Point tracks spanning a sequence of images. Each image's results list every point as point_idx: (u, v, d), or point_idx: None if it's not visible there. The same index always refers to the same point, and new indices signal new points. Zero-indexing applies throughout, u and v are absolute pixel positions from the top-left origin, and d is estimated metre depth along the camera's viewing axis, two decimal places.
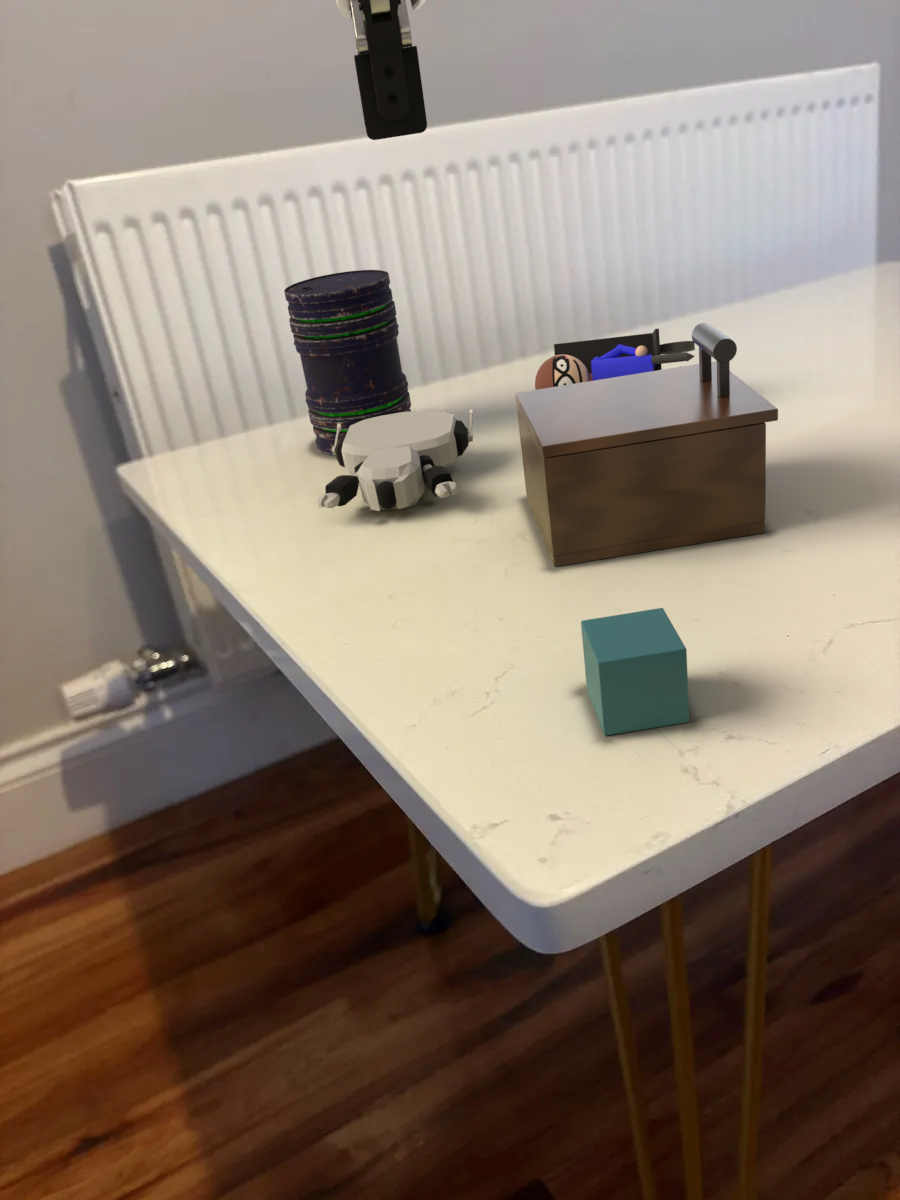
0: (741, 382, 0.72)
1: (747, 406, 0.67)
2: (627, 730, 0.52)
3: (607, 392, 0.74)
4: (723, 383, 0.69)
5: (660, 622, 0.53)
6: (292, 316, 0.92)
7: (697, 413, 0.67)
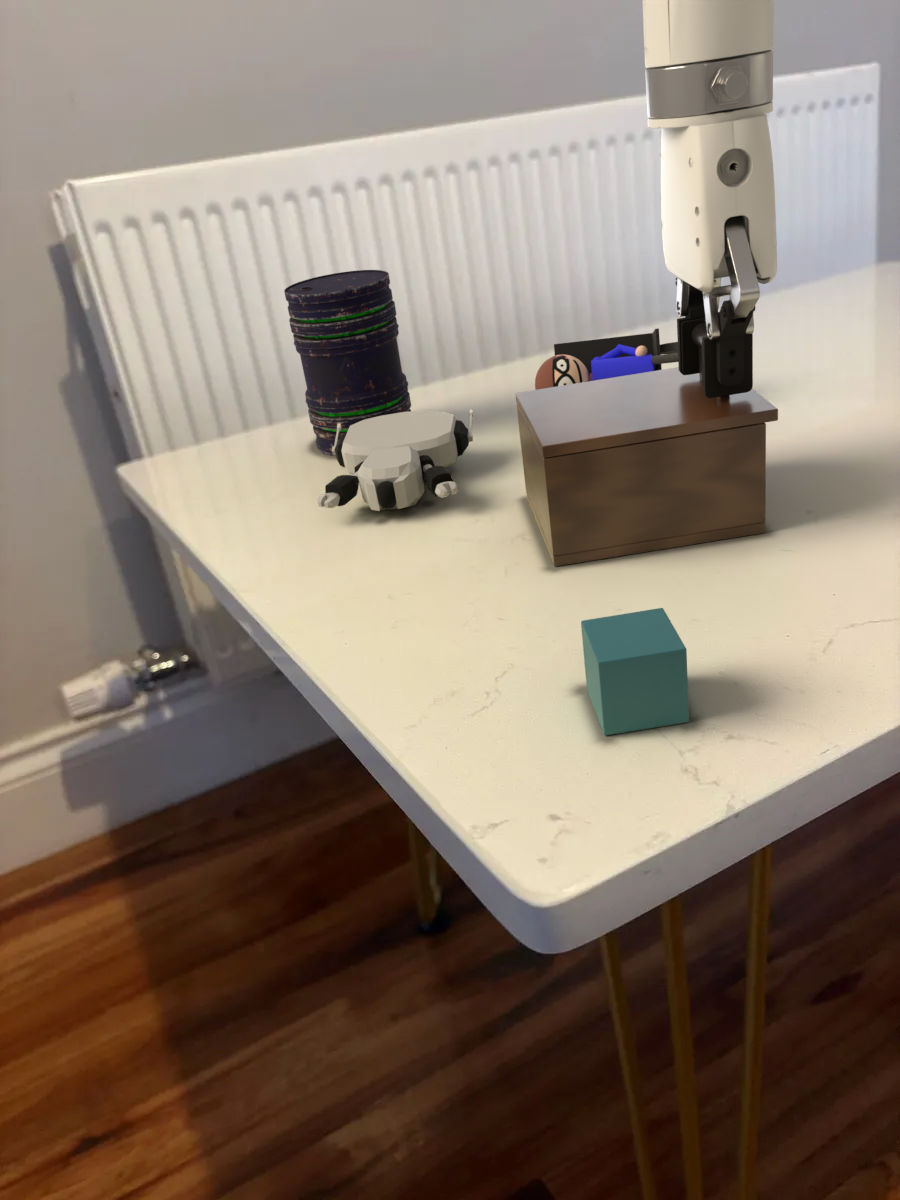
0: None
1: (747, 406, 0.67)
2: (627, 730, 0.52)
3: (607, 392, 0.74)
4: None
5: (660, 622, 0.53)
6: (292, 316, 0.92)
7: (697, 413, 0.67)
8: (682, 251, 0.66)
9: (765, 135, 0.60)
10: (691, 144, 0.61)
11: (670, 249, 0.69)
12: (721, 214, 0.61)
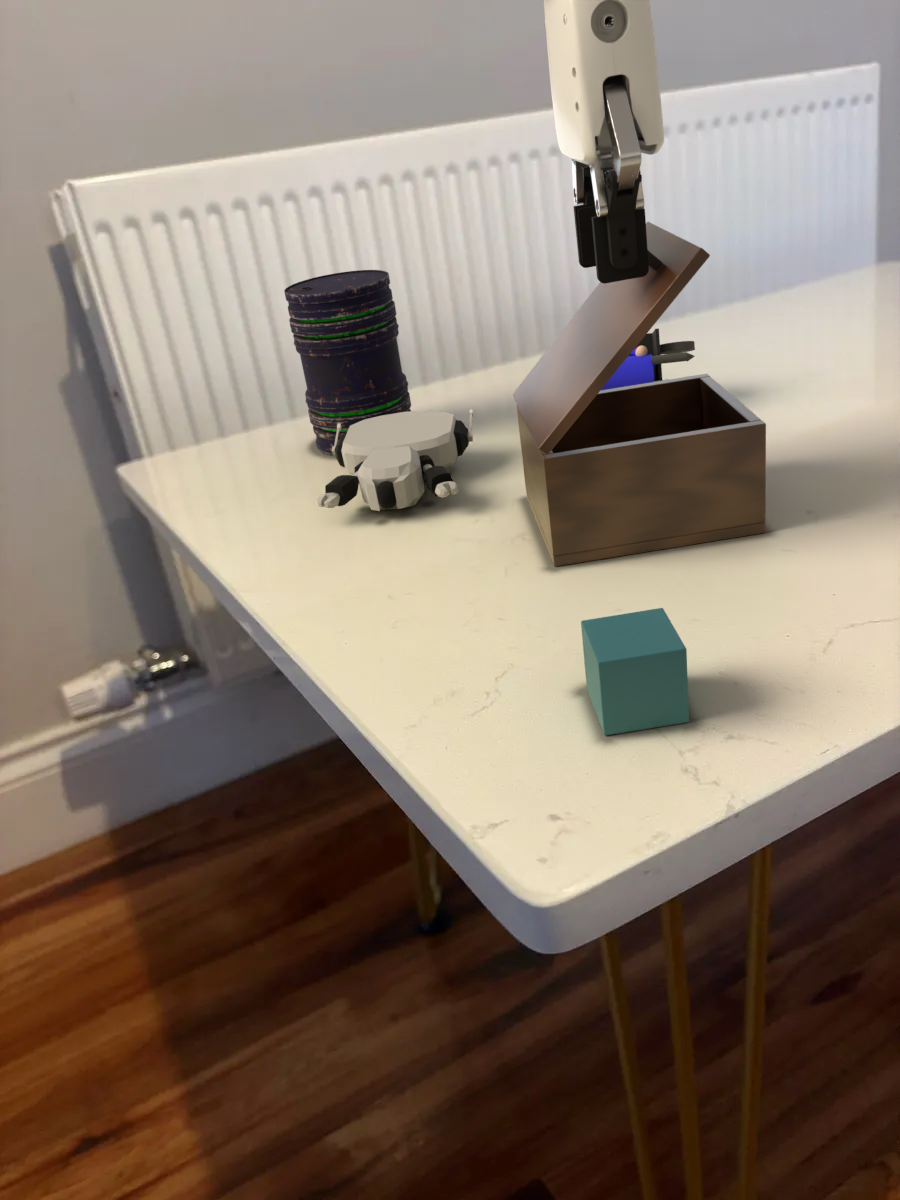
0: (669, 235, 0.67)
1: (677, 265, 0.63)
2: (627, 730, 0.52)
3: (573, 337, 0.72)
4: None
5: (660, 622, 0.53)
6: (292, 316, 0.92)
7: (641, 308, 0.64)
8: (567, 123, 0.62)
9: None
10: None
11: (559, 127, 0.65)
12: (598, 73, 0.57)
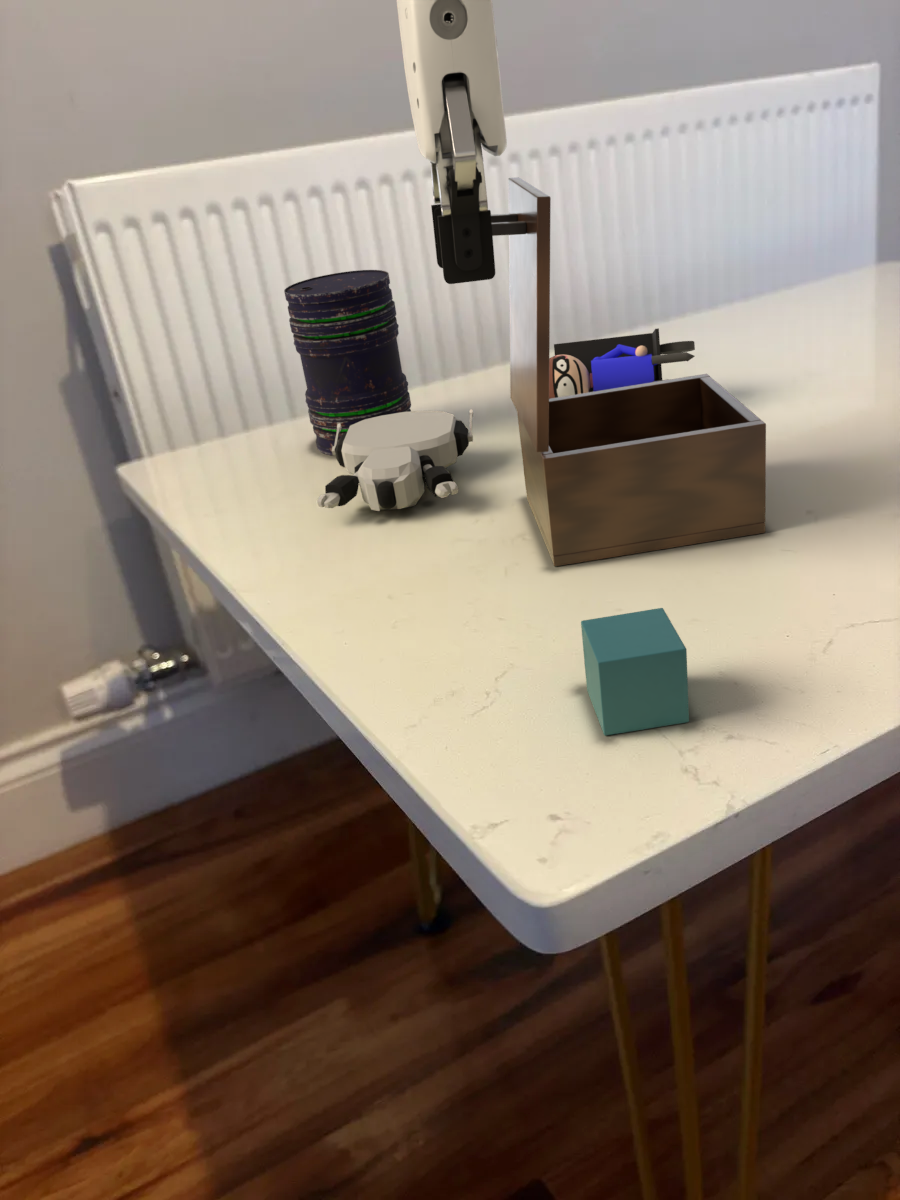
0: (520, 189, 0.65)
1: (533, 222, 0.61)
2: (627, 730, 0.52)
3: (516, 323, 0.71)
4: (511, 230, 0.63)
5: (660, 622, 0.53)
6: (292, 316, 0.92)
7: (532, 279, 0.62)
8: (414, 120, 0.61)
9: None
10: None
11: None
12: (437, 70, 0.57)
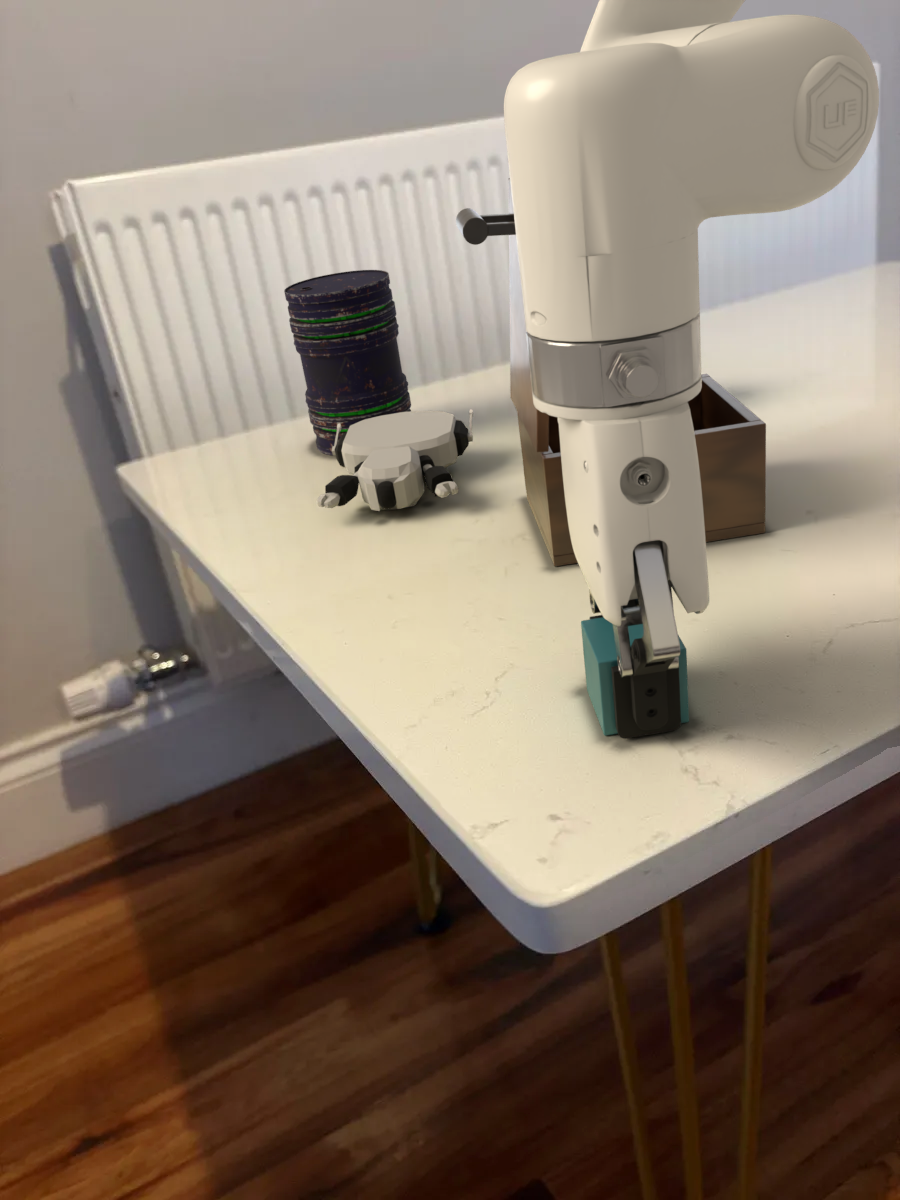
0: None
1: None
2: None
3: (516, 323, 0.71)
4: (511, 230, 0.63)
5: None
6: (292, 316, 0.92)
7: None
8: (584, 559, 0.49)
9: (688, 438, 0.43)
10: (586, 445, 0.44)
11: (573, 540, 0.51)
12: (628, 539, 0.44)
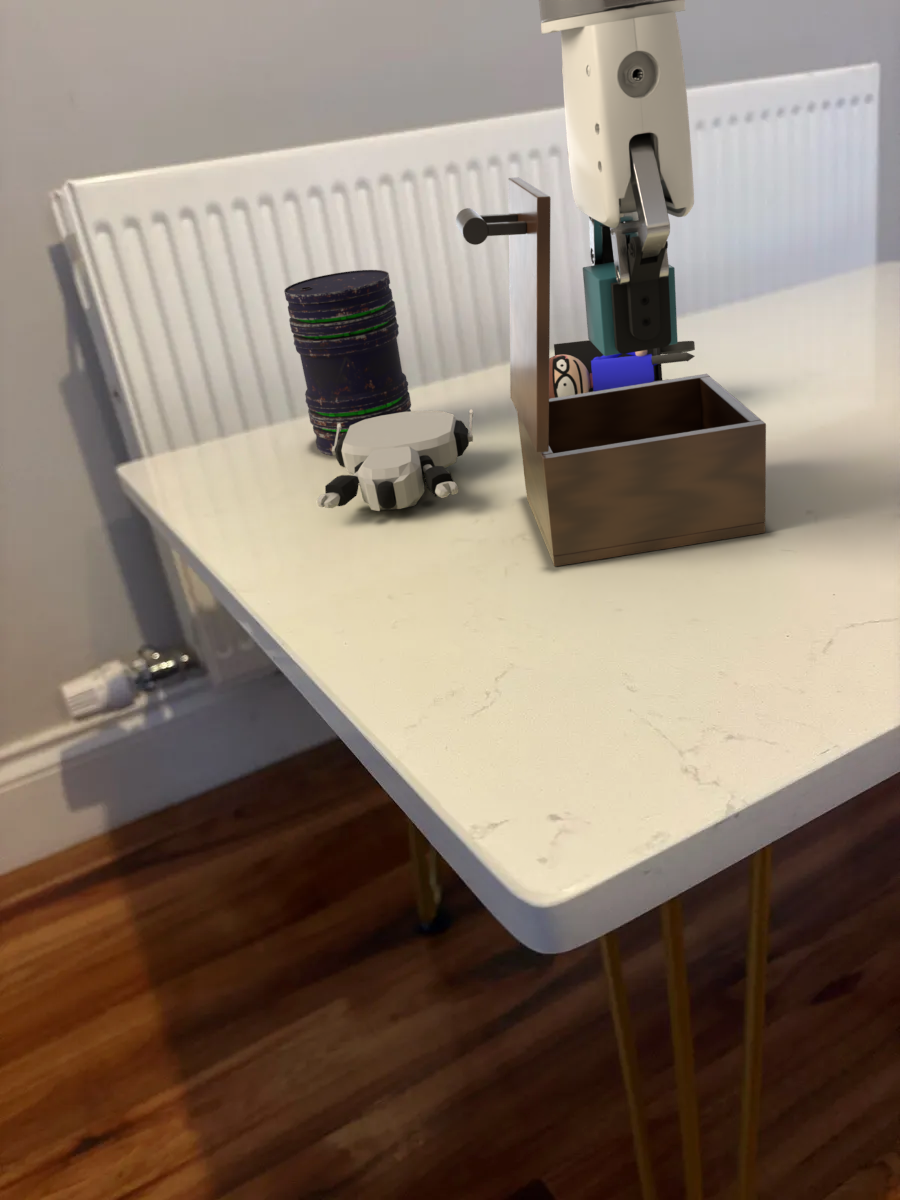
0: (520, 189, 0.65)
1: (533, 222, 0.61)
2: None
3: (516, 323, 0.71)
4: (511, 230, 0.63)
5: None
6: (292, 316, 0.92)
7: (532, 279, 0.62)
8: (586, 181, 0.57)
9: (674, 36, 0.51)
10: (588, 48, 0.52)
11: (576, 182, 0.59)
12: (625, 131, 0.52)
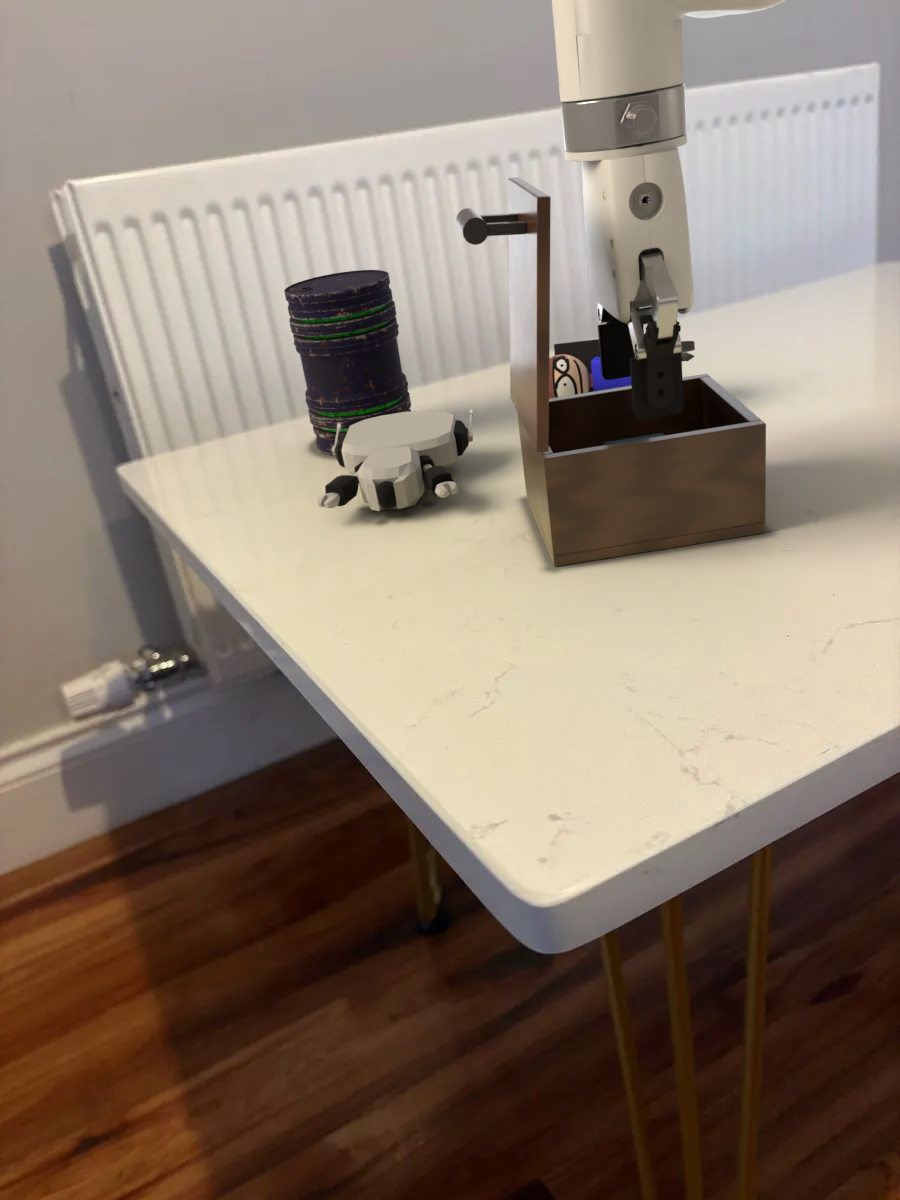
0: (520, 189, 0.65)
1: (533, 222, 0.61)
2: None
3: (516, 323, 0.71)
4: (511, 230, 0.63)
5: None
6: (292, 316, 0.92)
7: (532, 279, 0.62)
8: (602, 281, 0.66)
9: (677, 169, 0.61)
10: (604, 178, 0.61)
11: (593, 278, 0.69)
12: (635, 247, 0.62)
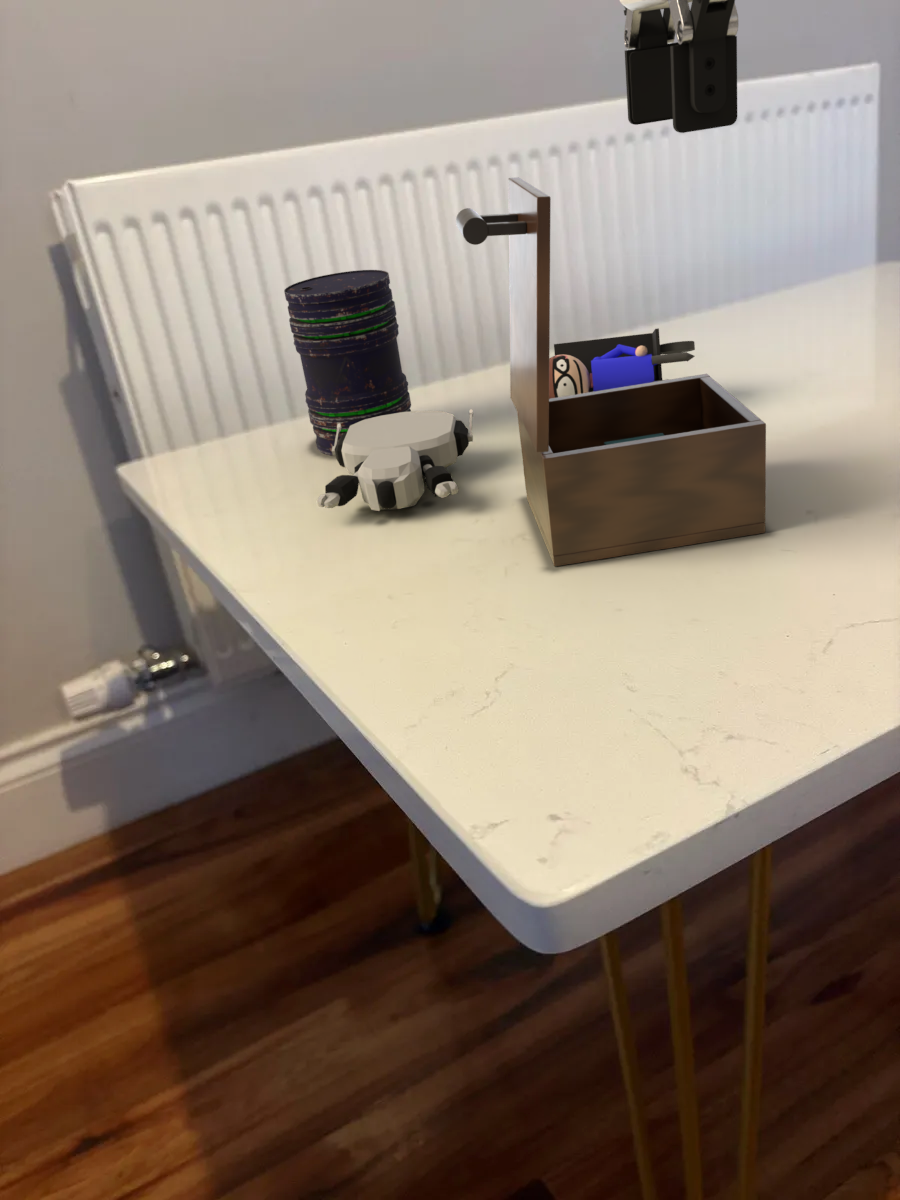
0: (520, 189, 0.65)
1: (533, 222, 0.61)
2: None
3: (516, 323, 0.71)
4: (511, 230, 0.63)
5: None
6: (292, 316, 0.92)
7: (532, 279, 0.62)
8: None
9: None
10: None
11: None
12: None
